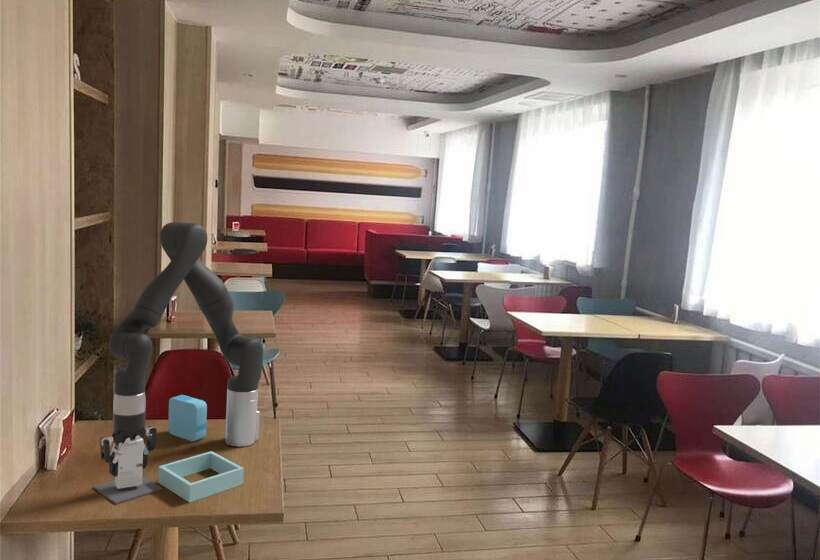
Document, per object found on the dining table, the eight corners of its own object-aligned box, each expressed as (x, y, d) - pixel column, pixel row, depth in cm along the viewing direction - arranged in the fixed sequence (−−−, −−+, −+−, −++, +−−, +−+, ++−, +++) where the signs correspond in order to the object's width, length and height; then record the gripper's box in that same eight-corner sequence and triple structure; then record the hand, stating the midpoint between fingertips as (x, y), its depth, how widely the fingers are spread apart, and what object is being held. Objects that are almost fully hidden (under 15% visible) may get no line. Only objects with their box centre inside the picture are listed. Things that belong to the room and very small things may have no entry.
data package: (206, 438, 206) (207, 401, 204) (195, 443, 202) (196, 405, 201) (179, 429, 212) (180, 393, 210) (167, 433, 208) (168, 396, 206)
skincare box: (117, 489, 166) (117, 443, 164) (113, 482, 169) (114, 437, 168) (143, 485, 169) (144, 439, 168) (139, 478, 173) (140, 433, 171)
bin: (211, 466, 186) (211, 451, 186) (243, 484, 177) (243, 468, 176) (158, 482, 174) (158, 466, 174) (189, 502, 165) (190, 485, 164)
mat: (138, 474, 178) (138, 473, 178) (161, 490, 170) (161, 488, 170) (93, 487, 169) (93, 486, 169) (116, 504, 161) (116, 502, 161)
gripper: (148, 399, 175) (147, 459, 177) (94, 411, 164) (93, 474, 166) (163, 407, 170) (162, 468, 172) (108, 419, 159) (107, 484, 161)
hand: (128, 471), depth 169 cm, fingers closed on skincare box, 6 cm apart
